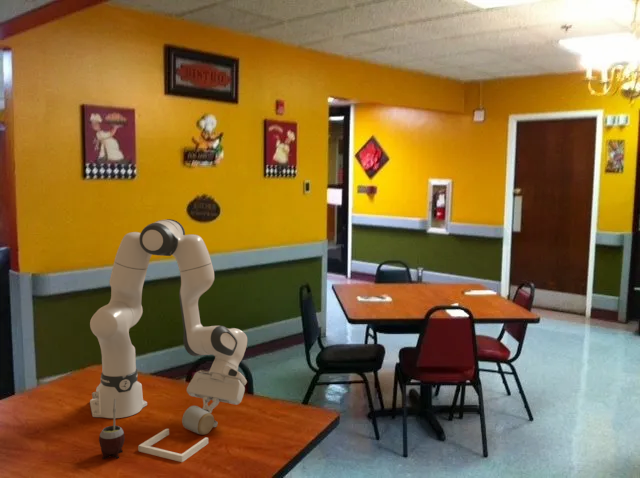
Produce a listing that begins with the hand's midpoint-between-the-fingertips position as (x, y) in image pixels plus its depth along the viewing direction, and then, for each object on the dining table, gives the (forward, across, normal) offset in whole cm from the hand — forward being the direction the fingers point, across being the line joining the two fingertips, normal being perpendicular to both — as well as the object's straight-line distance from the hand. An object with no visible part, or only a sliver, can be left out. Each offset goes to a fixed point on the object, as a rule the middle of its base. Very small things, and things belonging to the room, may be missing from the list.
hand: (206, 411), depth 191 cm
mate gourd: (+23, -14, -16) cm, 32 cm away
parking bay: (+15, 0, -8) cm, 17 cm away
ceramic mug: (+6, 0, +1) cm, 6 cm away
